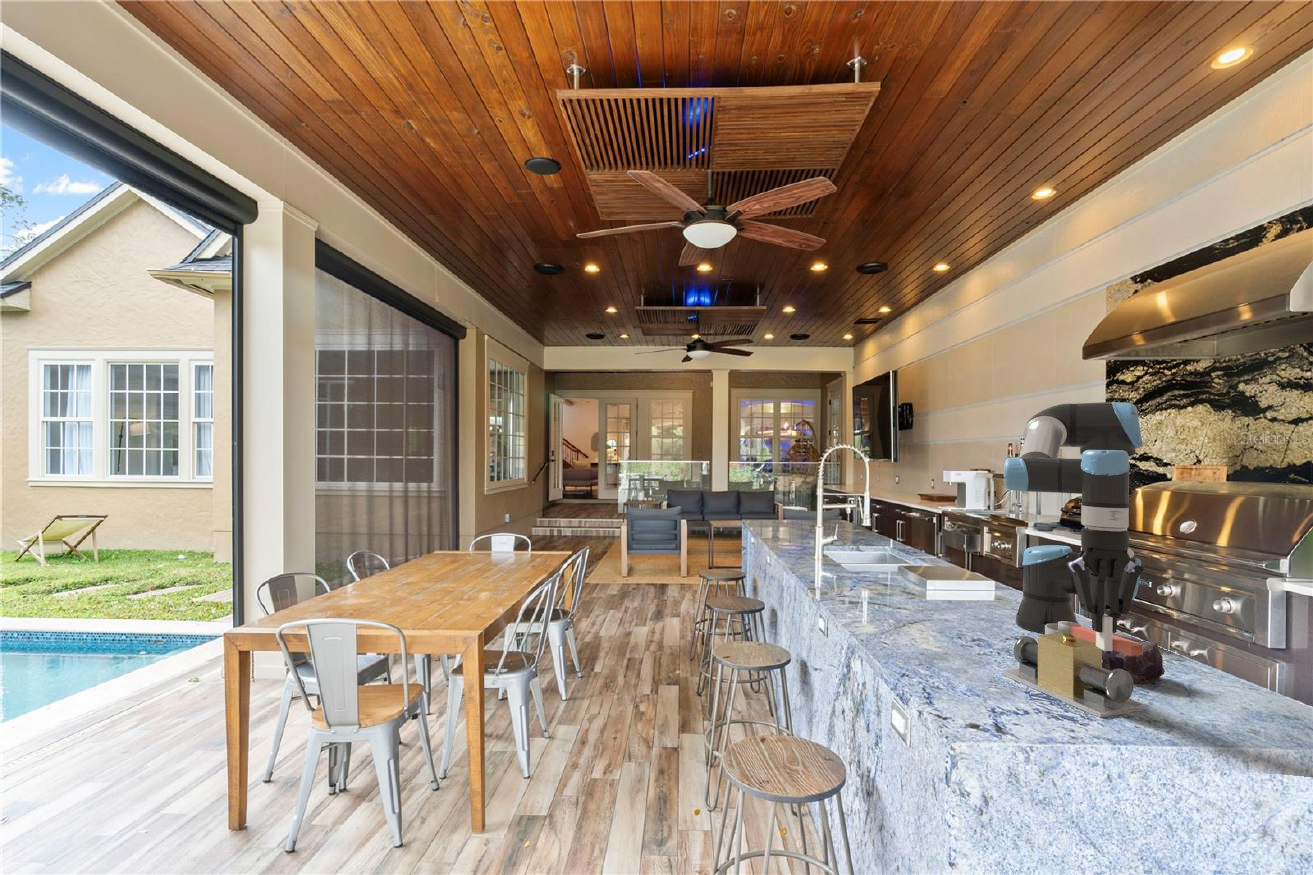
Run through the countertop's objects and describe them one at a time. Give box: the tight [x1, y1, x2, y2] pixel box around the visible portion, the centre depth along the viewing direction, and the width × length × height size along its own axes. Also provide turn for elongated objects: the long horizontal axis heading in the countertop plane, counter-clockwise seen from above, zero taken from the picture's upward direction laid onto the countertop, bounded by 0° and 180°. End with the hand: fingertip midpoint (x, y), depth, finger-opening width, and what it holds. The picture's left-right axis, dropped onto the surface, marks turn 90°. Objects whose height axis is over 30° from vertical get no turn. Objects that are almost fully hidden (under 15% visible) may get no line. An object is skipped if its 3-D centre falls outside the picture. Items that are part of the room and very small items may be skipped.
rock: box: [1102, 641, 1165, 685], centre depth 134 cm, size 12×9×10 cm
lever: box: [1058, 621, 1143, 656], centre depth 122 cm, size 16×4×2 cm, turn 15°
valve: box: [1002, 633, 1146, 719], centre depth 128 cm, size 12×22×12 cm, turn 17°
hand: (1104, 648), depth 118 cm, fingers closed
